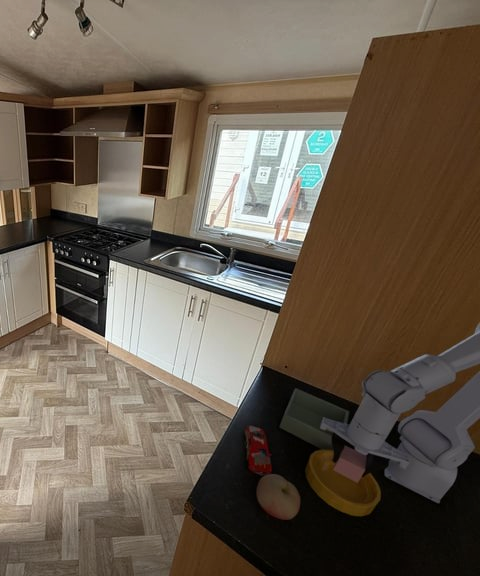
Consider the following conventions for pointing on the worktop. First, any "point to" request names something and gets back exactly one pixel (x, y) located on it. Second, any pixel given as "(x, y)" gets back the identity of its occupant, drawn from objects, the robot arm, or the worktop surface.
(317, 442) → the bin
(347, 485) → the bowl
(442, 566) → the worktop surface
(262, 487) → the fruit
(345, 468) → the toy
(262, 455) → the race car
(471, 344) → the robot arm
